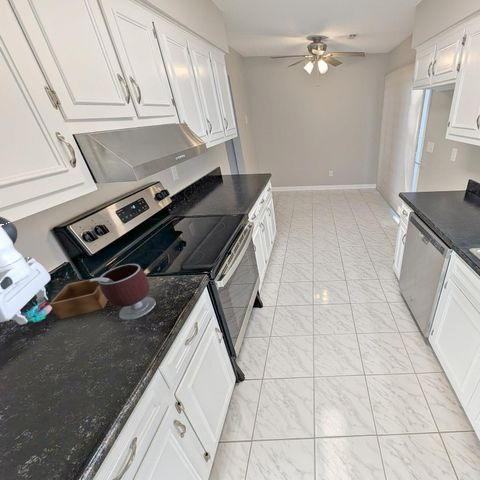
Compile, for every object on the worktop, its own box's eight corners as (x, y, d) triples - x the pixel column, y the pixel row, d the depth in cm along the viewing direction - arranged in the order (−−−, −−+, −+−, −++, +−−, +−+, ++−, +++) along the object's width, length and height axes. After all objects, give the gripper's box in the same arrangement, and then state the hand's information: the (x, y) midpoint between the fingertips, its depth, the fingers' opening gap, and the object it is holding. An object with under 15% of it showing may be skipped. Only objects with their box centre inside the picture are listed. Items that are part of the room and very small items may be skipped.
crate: (59, 319, 98) (48, 304, 94) (75, 298, 109) (66, 284, 106) (103, 308, 102) (94, 294, 98) (114, 289, 113) (107, 275, 110)
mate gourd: (144, 293, 109) (125, 254, 100) (165, 302, 103) (146, 260, 94) (105, 318, 97) (78, 275, 87) (125, 329, 91) (100, 284, 82)
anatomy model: (30, 294, 76) (2, 310, 70) (55, 297, 75) (29, 313, 69) (38, 307, 78) (12, 324, 72) (62, 310, 78) (38, 327, 72)
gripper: (16, 256, 75) (42, 293, 81) (-44, 298, 58) (-5, 341, 64) (42, 251, 77) (66, 288, 83) (-8, 291, 59) (26, 333, 66)
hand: (34, 311), depth 73 cm, fingers closed on anatomy model, 7 cm apart
